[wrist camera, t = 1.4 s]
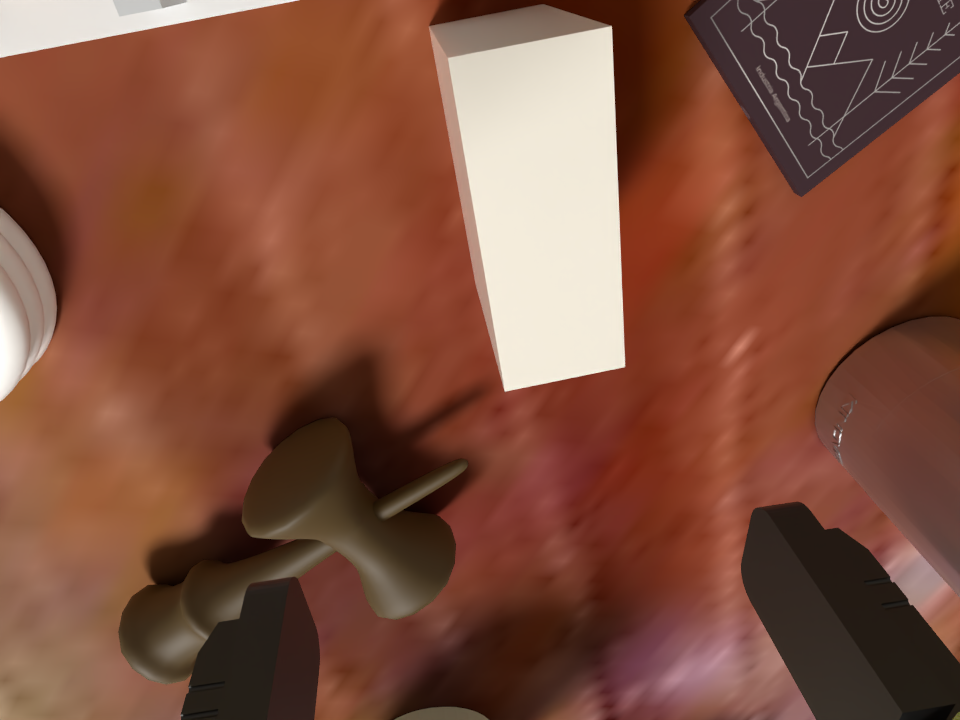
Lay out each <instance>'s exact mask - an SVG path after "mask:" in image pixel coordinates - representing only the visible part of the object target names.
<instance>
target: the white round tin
mask: <svg viewBox="0 0 960 720" xmlns="http://www.w3.org/2000/svg"><path fill="white" fill-rule="evenodd" d="M56 315H57V302H56V293H55V289H54V285H53V281H52V278H51V275H50V273H49V271H48V268H47V266H46V264H45V262H44V260H43V258H42V257H41V255H40V253H39V251H38V250H37V248H36V246H35V245H34V244H33V242H32V241H31V240H30V238H29V237H28V236H27V234H26V233H25V232H24V230H23V229H22V228H21V227H20V226H19V225H18V224H17V223H16V222H15V221H14V220H13V219H12V218H11V217H10V216H9V215H8V214H7V213H6V212H5V211H4V210H3V209H2V208H0V401H1V400H3V399H4V398H5V397H6V396H7V395H8V394H9V393H10V392H11V391H12V390H13V389H14V387H15V386H16V385H17V383H18V382H19V381H20V380H21V379H22V378H23V377H24V376H25V375H26V374H27V373H28V371H29V370H30V368H31V367H32V366H33V365H34V364H35V363H36V362H37V361H38V360H39V359H40V357H41V356H42V355H43V353H44V352H45V350H46V349H47V347H48V345H49V343H50V341H51V339H52V335H53V332H54V328H55V324H56Z"/></svg>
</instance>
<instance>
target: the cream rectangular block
mask: <svg viewBox="0 0 960 720" xmlns="http://www.w3.org/2000/svg"><path fill="white" fill-rule="evenodd" d="M429 29H430V35H431V40H432V46H433V51H434V57H435V62H436V68H437V73H438V79H439V84H440V90H441V96H442V101H443V107H444V112H445V118H446V123H447V129H448V134H449V140H450V145H451V151H452V156H453V162H454V167H455V173H456V178H457V184H458V189H459V195H460V200H461V206H462V211H463V217H464V222H465V228H466V233H467V239H468V244H469V250H470V255H471V261H472V266H473V272H474V278H475V283H476V287H477V291H478V295H479V298H480V302H481V306H482V309H483V313H484V317H485V320H486V324H487V328H488V332H489V335H490V339H491V343H492V346H493V350H494V354H495V357H496V361H497V365H498V368H499V372H500V376H501V379H502V383H503V387H504V391H510V390H515V389H520V388H525V387H529V386H534V385H539V384H544V383H549V382H554V381H559V380H564V379H569V378H573V377H578V376H583V375H588V374H593V373H598V372H603V371H608V370H613V369H617V368H622V367H625V353H624V327H623V301H622V275H621V249H620V223H619V197H618V171H617V145H616V119H615V93H614V67H613V41H612V26H610V25H607V24H604V23H601V22H598V21H594V20H591V19H588V18H585V17H582V16H579V15H576V14H573V13H570V12H566V11H563V10H560V9H557V8H554V7H551V6H548V5H545V4H541V5H536V6H530V7H525V8H520V9H515V10H510V11H505V12H499V13H494V14H489V15H484V16H479V17H474V18H468V19H463V20H458V21H453V22H448V23H443V24H437V25H432V26H429Z"/></svg>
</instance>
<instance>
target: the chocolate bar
mask: <svg viewBox="0 0 960 720" xmlns="http://www.w3.org/2000/svg"><path fill="white" fill-rule="evenodd" d="M684 17H685V18H686V20H687V22H688V23H689V25H690V26H691V28H692V30H693V31H694V33H695V34H696V36H697V38H698V39H699V41H700V42H701V44H702V46H703V47H704V49H705V50H706V52H707V54H708V55H709V57H710V58H711V60H712V62H713V63H714V65H715V67H716V68H717V70H718V71H719V73H720V75H721V76H722V78H723V79H724V81H725V83H726V84H727V86H728V87H729V89H730V91H731V92H732V94H733V95H734V97H735V99H736V100H737V102H738V103H739V105H740V107H741V108H742V110H743V111H744V113H745V115H746V116H747V118H748V119H749V121H750V123H751V124H752V126H753V127H754V129H755V131H756V132H757V134H758V135H759V137H760V139H761V140H762V142H763V143H764V145H765V147H766V148H767V150H768V151H769V153H770V155H771V156H772V158H773V159H774V161H775V163H776V164H777V166H778V167H779V169H780V171H781V172H782V174H783V175H784V177H785V179H786V180H787V182H788V183H789V185H790V187H791V188H792V190H793V191H794V193H795V194H797V195H799V196H801V197H802V196H804V195H805V194H806V193H807V192H809V191H810V190H811V189H812V188H814V187H815V186H816V185H818V184H819V183H820V182H821V181H823V180H824V179H825V178H826V177H828V176H829V175H830V174H832V173H833V172H834V171H835V170H837V169H838V168H839V167H840V166H842V165H843V164H844V163H845V162H847V161H848V160H849V159H851V158H852V157H853V156H854V155H856V154H857V153H858V152H859V151H861V150H862V149H863V148H865V147H866V146H867V145H868V144H870V143H871V142H872V141H873V140H875V139H876V138H877V137H879V136H880V135H881V134H882V133H884V132H885V131H886V130H887V129H889V128H890V127H891V126H893V125H894V124H895V123H896V122H898V121H899V120H900V119H901V118H903V117H904V116H905V115H907V114H908V113H909V112H910V111H912V110H913V109H914V108H915V107H917V106H918V105H919V104H920V103H922V102H923V101H924V100H926V99H927V98H928V97H929V96H931V95H932V94H933V93H934V92H936V91H937V90H938V89H940V88H941V87H942V86H943V85H945V84H946V83H947V82H948V81H950V80H951V79H952V78H954V77H955V76H956V75H957V74H959V73H960V0H700V1H699V2H698V3H697V4H696V5H695V6H694V7H693V8H692V9H690V10H689V11H688V12H687V13H686V14H685V15H684Z"/></svg>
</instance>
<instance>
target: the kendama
mask: <svg viewBox="0 0 960 720" xmlns="http://www.w3.org/2000/svg"><path fill="white" fill-rule="evenodd" d="M467 466H468V461H467V460H465V459H458V460H455V461H452V462H450V463H448V464H445V465H443V466H441V467H439V468H437V469H435V470H433V471H431V472H429V473H427V474H425V475H423V476H422V477H420V478H418V479H416V480H414V481H412V482H410V483H408V484H406V485H404V486H403V487H401V488H399V489H397V490H395V491H393V492H391V493H389V494H388V495H386V496H384V497H382V498H380V499H379V498H378V497H376V496H375V495H374V494H373V493H372V492H370V491H369V490H368V489H367V488H366V487H365V485H364V484H363V483H362V482H361V481H360V479H359V477H358V474H357V470H356V465H355V459H354V453H353V447H352V441H351V436H350V433H349V430H348V428H347V427H346V426H345V425H344V424H343V423H342V422H341V421H339V420H338V419H337V418H335V417H333V418H325V419H319V420H317V421H314V422H312V423H310V424H308V425H306V426H304V427H302V428H300V429H298V430H296V431H295V432H294V433H292V434H291V435H290V436H289V437H287V438H286V439H285V440H283V441H282V442H281V443H280V444H279V445H278V446H277V447H276V448H275V449H274V450H273V451H272V452H271V453H270V454H269V455H268V456H267V458H266V459H265V460H264V461H263V463H262V464H261V466H260V467H259V469H258V470H257V472H256V474H255V475H254V477H253V478H252V480H251V483H250V485H249V488H248V490H247V493H246V496H245V498H244V503H243V513H242V523H243V525H244V527H245V529H246V531H247V533H248V534H249V535H250V536H251V537H255V538H264V539H296V540H294V541H291V542H289V543H286V544H284V545H281V546H279V547H276V548H274V549H271V550H268V551H266V552H263V553H260V554H258V555H255V556H252V557H249V558H246V559H243V560H240V561H236V562H232V563H228V564H225V563H223V562H221V561H219V560H202V561H201V562H199V563H198V564H196V565H195V566H194V567H192V568H191V569H190V571H189V573H188V575H187V577H186V578H185V580H184V582H182V583H180V584H178V585H175V586H170V585H167V584H163V585H147V586H146V587H145V588H143V589H142V590H140V591H139V592H138V593H136V594H135V595H133V596H132V597H131V599H130V601H129V602H128V604H127V606H126V607H125V609H124V611H123V612H122V617H121V622H120V627H119V632H118V633H119V639H120V646H121V652H122V654H123V655H124V657H125V658H126V660H127V661H128V663H129V664H130V666H131V667H132V669H134V670H135V671H136V672H138V673H139V674H141V675H142V676H144V677H145V678H146V679H148V680H150V681H154V682H158V683H162V684H171V683H176V682H181V681H184V680H186V679H187V678H188V677H189V676H190V675H191V674H192V672H193V669H194V665H195V662H196V658H197V654H198V652H199V651H200V649H201V648H202V646H203V645H204V643H205V642H206V640H207V639H208V637H209V636H210V634H211V633H212V631H213V630H214V628H215V627H216V625H217V624H218V622H222V621H228V620H235V619H239V618H240V613H241V609H242V604H243V600H244V596H245V592H246V589H247V587H248V586H249V585H250V584H251V583H255V582H262V581H268V580H275V579H281V578H288V577H296V578H297V579H298V578H300V577H301V576H302V575H304V574H305V573H306V572H308V571H309V570H310V569H312V568H313V567H315V566H316V565H317V564H319V563H320V562H322V561H323V560H324V559H326V558H327V557H329V556H330V555H332V554H333V553H335V552H336V551H337V552H339V553H340V554H342V555H343V556H344V557H345V558H347V559H348V560H349V561H350V562H351V563H352V564H353V565H354V566H355V567H356V568H357V570H358V573H359V575H360V579H361V582H362V586H363V590H364V593H365V596H366V599H367V601H368V603H369V604H370V606H371V607H372V609H373V610H374V611H375V613H376V614H377V616H379V617H383V618H389V619H395V620H397V619H400V618H403V617H407V616H410V615H413V614H415V613H417V612H418V611H419V610H421V609H422V608H424V607H425V606H427V605H428V604H429V603H431V602H432V601H433V600H434V599H435V598H436V596H437V595H438V594H439V593H440V592H441V590H442V589H443V588H444V587H445V586H446V584H447V582H448V580H449V577H450V575H451V572H452V569H453V567H454V564H455V551H456V543H455V539H454V536H453V533H452V530H451V528H450V526H449V525H448V524H447V523H446V522H445V521H444V520H443V519H442V518H441V517H440V516H437V515H435V514H429V513H419V512H409V511H403V510H404V509H405V508H407V507H409V506H410V505H412V504H414V503H415V502H417V501H419V500H420V499H422V498H423V497H425V496H427V495H428V494H430V493H432V492H433V491H435V490H437V489H438V488H440V487H441V486H443V485H444V484H446V483H448V482H449V481H451V480H452V479H454V478H455V477H456V476H458V475H459V474H460V473H462V472H463V471H464V470H465V469H466V468H467Z"/></svg>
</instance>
